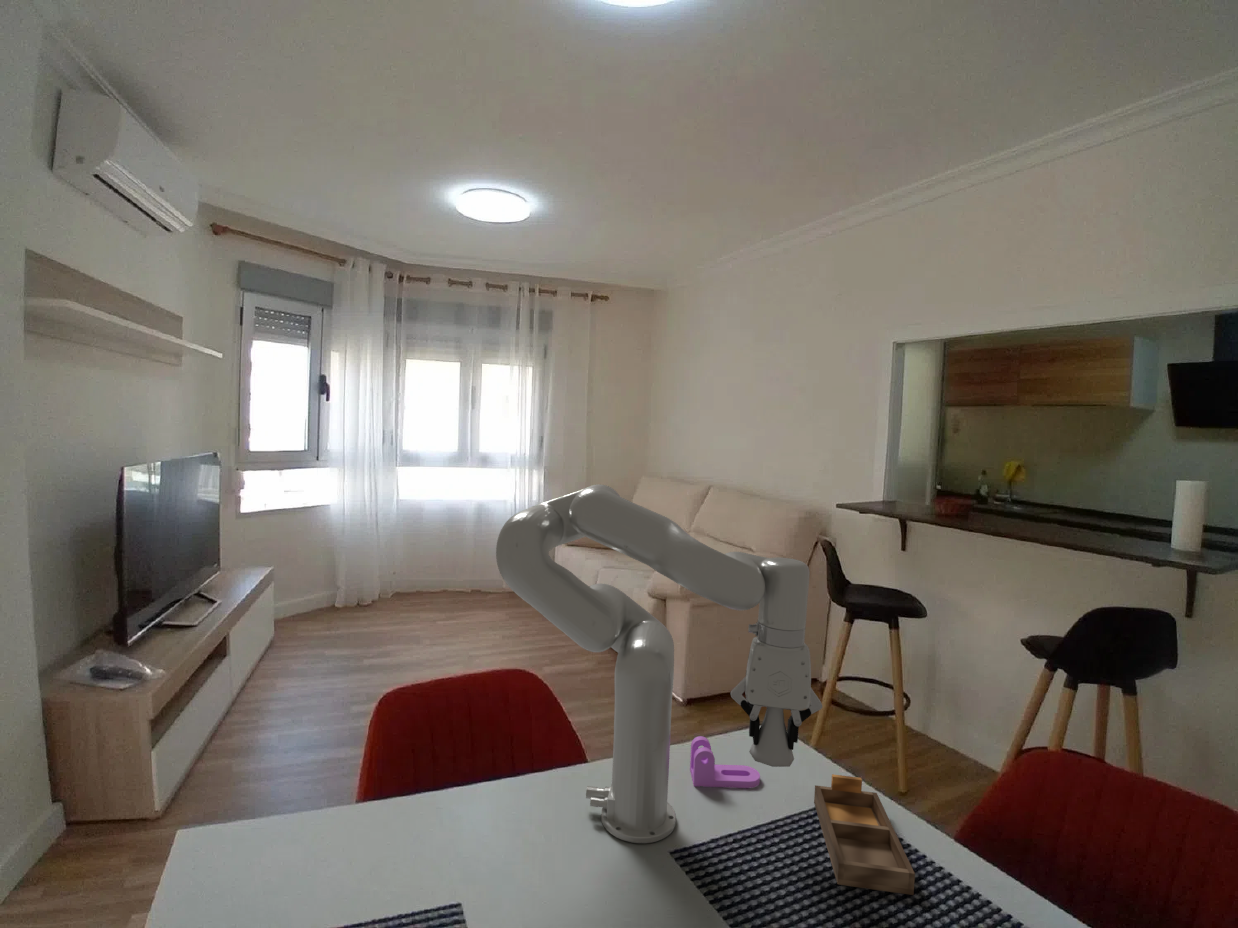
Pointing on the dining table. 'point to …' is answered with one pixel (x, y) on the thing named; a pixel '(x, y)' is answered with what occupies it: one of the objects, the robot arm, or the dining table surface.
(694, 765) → the bracket
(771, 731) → the flask
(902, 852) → the divided wooden tray
